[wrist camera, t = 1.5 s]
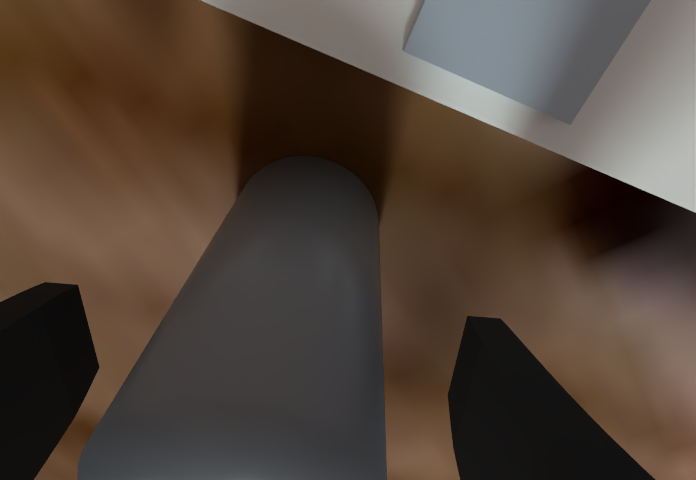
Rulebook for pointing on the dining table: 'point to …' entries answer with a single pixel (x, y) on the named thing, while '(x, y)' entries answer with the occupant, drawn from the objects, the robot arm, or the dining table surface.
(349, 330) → the peg
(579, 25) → the socket block
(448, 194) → the dining table surface
